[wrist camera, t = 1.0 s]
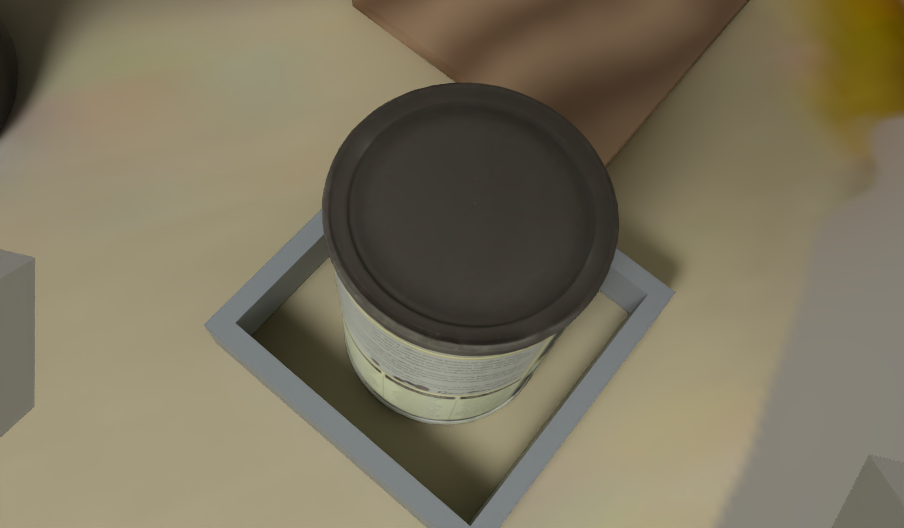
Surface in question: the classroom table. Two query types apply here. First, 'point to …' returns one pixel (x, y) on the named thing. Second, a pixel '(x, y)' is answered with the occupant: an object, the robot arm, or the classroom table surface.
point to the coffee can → (463, 245)
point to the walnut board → (565, 51)
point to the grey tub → (234, 336)
